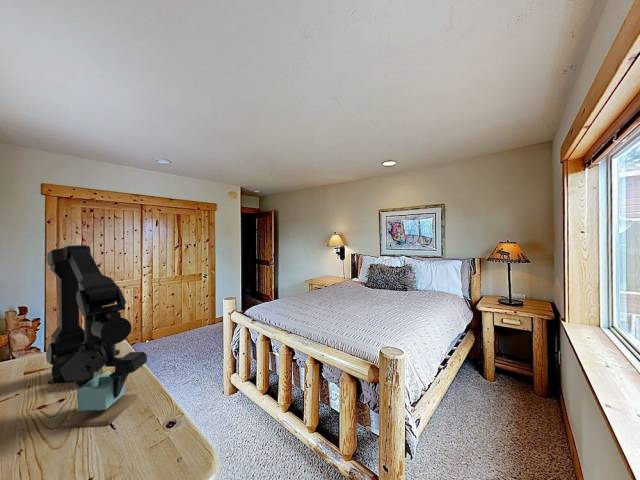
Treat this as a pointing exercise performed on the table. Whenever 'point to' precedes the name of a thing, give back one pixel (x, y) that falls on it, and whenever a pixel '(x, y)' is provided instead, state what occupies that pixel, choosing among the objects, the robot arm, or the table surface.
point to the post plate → (100, 413)
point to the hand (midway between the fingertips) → (102, 397)
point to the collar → (97, 394)
